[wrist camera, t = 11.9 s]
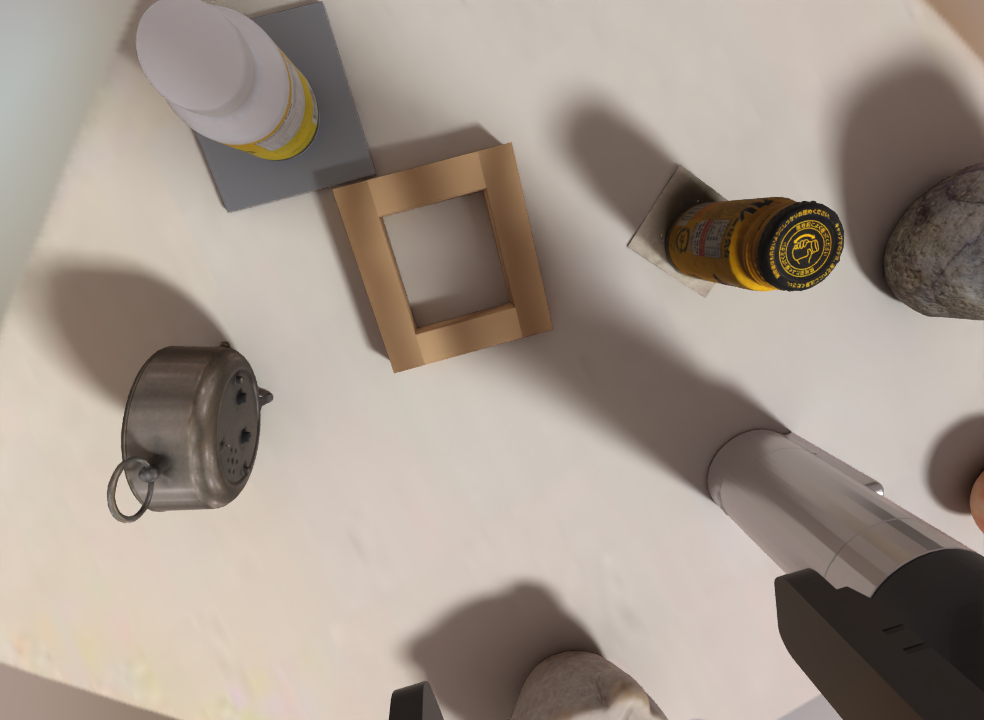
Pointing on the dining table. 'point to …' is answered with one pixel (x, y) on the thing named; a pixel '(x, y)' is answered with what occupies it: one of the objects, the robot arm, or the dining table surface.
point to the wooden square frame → (382, 276)
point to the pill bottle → (227, 78)
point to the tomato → (978, 501)
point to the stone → (941, 249)
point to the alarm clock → (189, 430)
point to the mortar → (583, 691)
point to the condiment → (738, 239)
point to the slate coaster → (339, 133)
